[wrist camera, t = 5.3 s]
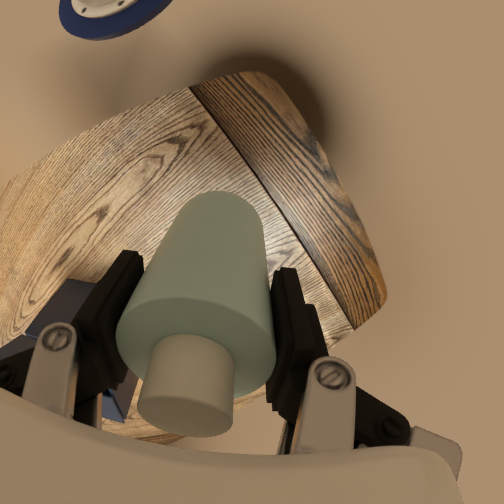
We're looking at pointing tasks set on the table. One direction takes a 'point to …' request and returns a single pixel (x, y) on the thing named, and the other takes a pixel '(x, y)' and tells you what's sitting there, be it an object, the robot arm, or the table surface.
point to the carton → (64, 310)
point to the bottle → (201, 318)
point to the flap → (17, 346)
